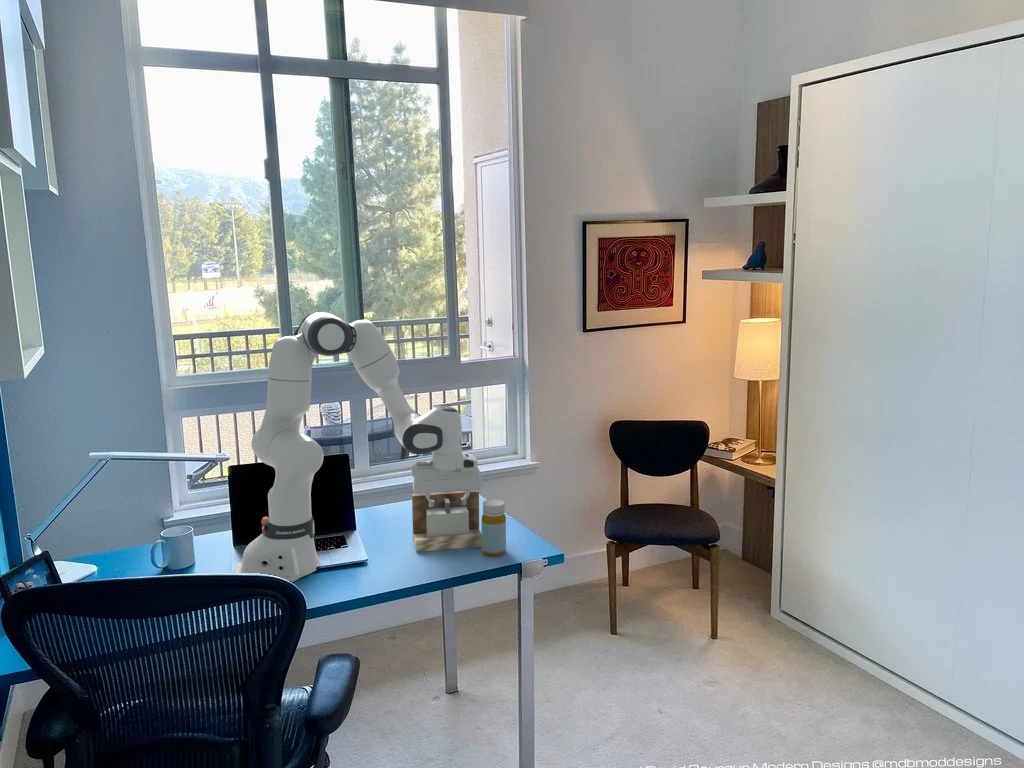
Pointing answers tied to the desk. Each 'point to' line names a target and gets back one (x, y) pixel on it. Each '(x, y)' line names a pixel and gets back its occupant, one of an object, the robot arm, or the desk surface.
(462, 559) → the desk surface
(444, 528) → the white knobbed block
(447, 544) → the wall board
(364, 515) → the desk surface
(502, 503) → the bottle
